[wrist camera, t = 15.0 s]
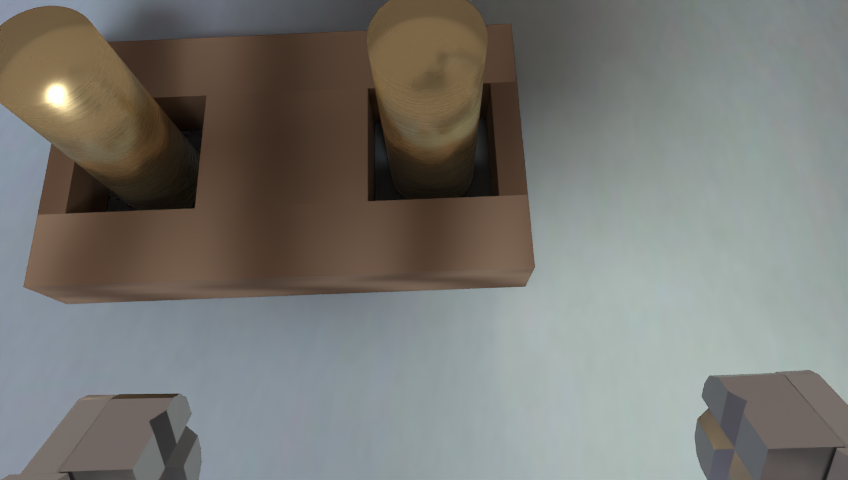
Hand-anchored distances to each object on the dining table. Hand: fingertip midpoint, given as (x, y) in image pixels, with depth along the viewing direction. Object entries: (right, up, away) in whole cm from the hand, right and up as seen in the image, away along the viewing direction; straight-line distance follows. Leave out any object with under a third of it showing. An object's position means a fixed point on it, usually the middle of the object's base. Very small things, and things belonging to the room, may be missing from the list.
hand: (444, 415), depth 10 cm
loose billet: (0, +6, +20) cm, 21 cm away
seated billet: (-13, +6, +20) cm, 25 cm away
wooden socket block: (-6, +6, +20) cm, 22 cm away
